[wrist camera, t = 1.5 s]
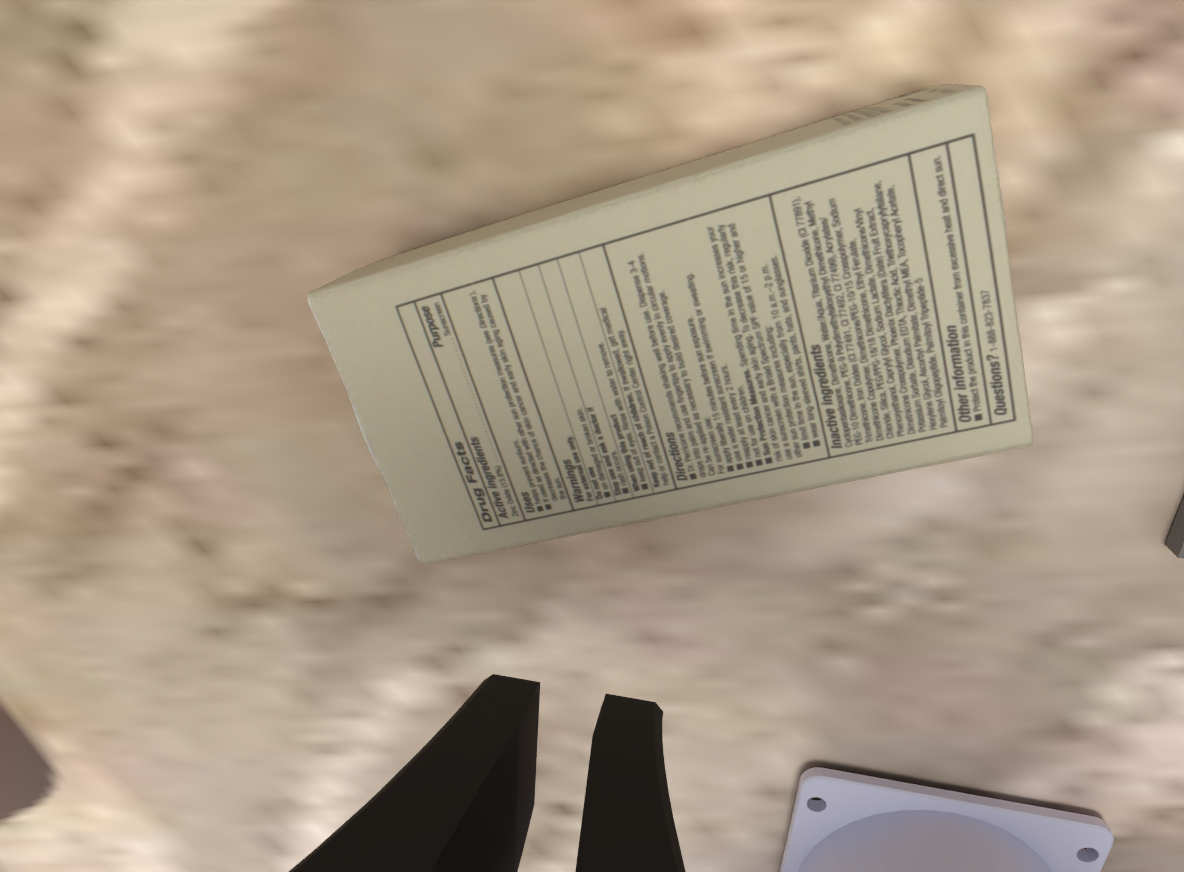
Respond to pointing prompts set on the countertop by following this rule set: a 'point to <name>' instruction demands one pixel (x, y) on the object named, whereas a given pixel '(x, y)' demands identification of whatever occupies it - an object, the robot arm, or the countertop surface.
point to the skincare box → (695, 334)
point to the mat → (1177, 533)
